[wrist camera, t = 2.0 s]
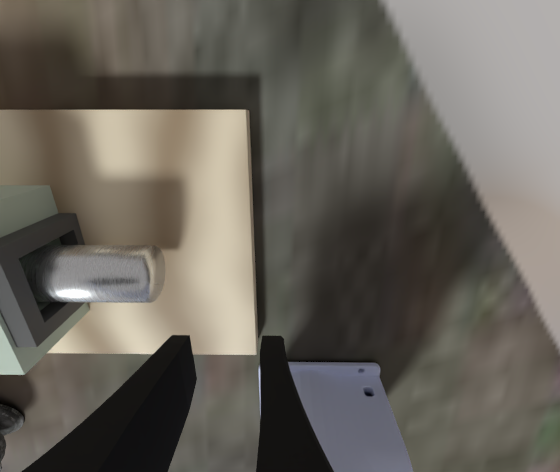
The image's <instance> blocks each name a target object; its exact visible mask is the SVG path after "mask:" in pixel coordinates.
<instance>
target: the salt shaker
mask: <svg viewBox="0 0 560 472" xmlns="http://www.w3.org/2000/svg"><path fill="white" fill-rule="evenodd" d="M23 423H24V417H23V416H22V414H21V413H20V412H18V411H17V410H15V409H13V408H11V407H9V406H6V405H2V404H0V471H1V469H2V466H1V461H2V459H3V457H4V454H5V448H6V442H5V439H4V436H3V435H6V434H10V433H12V432H14V431H17V430H18V429H19V428H21V427H22V425H23Z"/></svg>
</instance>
